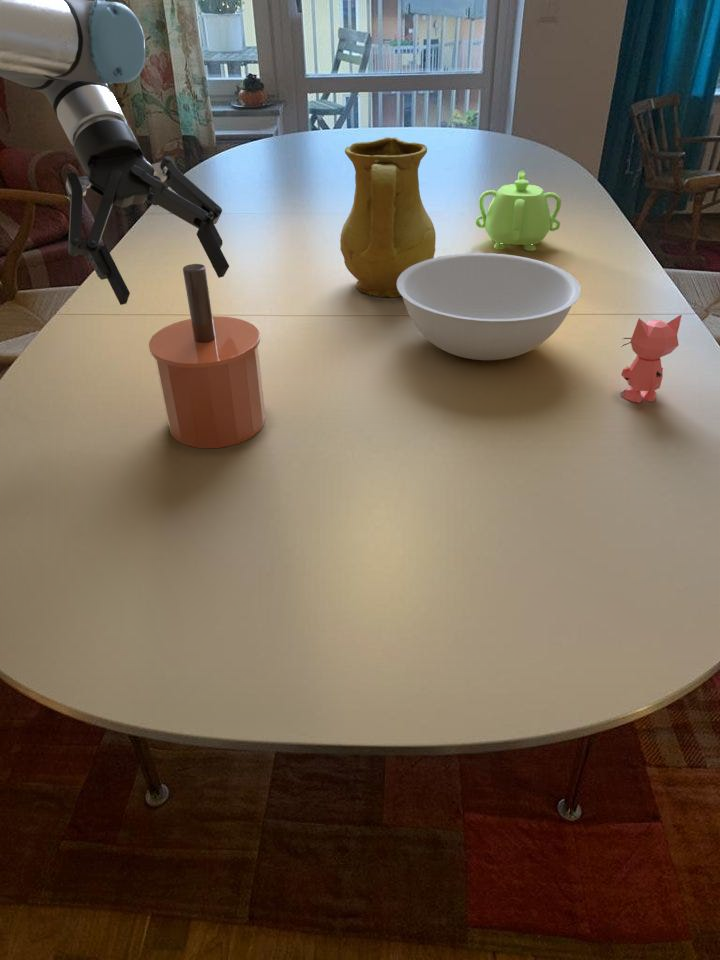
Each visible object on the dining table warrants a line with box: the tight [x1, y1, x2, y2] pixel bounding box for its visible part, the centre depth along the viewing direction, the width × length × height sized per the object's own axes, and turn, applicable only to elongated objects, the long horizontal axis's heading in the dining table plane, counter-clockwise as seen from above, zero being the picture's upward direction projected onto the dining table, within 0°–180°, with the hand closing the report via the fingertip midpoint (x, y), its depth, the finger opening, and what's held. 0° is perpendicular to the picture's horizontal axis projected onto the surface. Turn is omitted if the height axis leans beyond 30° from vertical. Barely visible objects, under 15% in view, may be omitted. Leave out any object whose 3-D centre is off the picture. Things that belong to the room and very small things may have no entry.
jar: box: [154, 346, 266, 449], centre depth 95 cm, size 13×13×12 cm
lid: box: [148, 263, 261, 368], centre depth 89 cm, size 14×14×10 cm
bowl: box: [397, 252, 582, 361], centre depth 113 cm, size 27×27×10 cm
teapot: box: [475, 169, 562, 252], centre depth 152 cm, size 16×14×13 cm
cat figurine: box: [620, 313, 683, 404], centre depth 98 cm, size 7×7×12 cm
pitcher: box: [339, 136, 437, 298], centre depth 129 cm, size 17×19×25 cm
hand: (176, 285), depth 91 cm, fingers open, 13 cm apart
